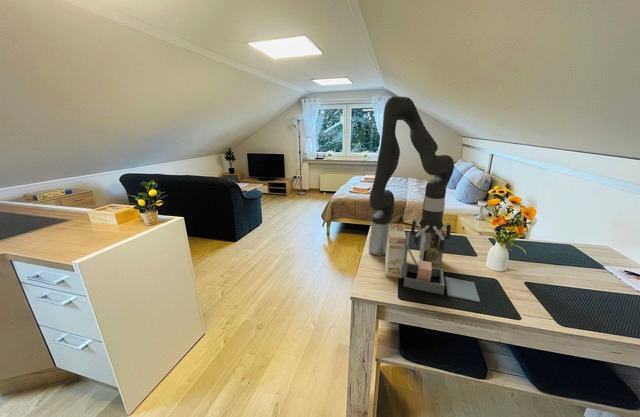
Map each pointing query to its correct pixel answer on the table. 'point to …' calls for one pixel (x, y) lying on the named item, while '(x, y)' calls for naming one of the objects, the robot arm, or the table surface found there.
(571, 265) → the table surface
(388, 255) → the coffeecake box
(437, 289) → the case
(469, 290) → the mat
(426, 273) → the block
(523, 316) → the table surface
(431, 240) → the coffee box
